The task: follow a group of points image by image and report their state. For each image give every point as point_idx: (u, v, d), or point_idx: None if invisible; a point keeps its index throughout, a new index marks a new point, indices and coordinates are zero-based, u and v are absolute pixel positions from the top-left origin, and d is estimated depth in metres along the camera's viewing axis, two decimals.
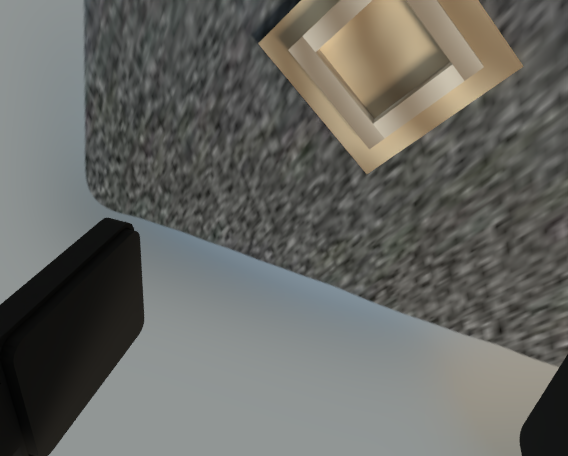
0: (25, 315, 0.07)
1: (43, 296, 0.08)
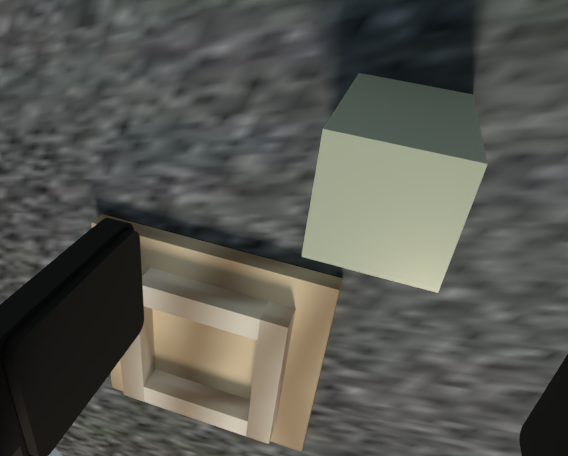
0: (25, 315, 0.07)
1: (43, 296, 0.08)
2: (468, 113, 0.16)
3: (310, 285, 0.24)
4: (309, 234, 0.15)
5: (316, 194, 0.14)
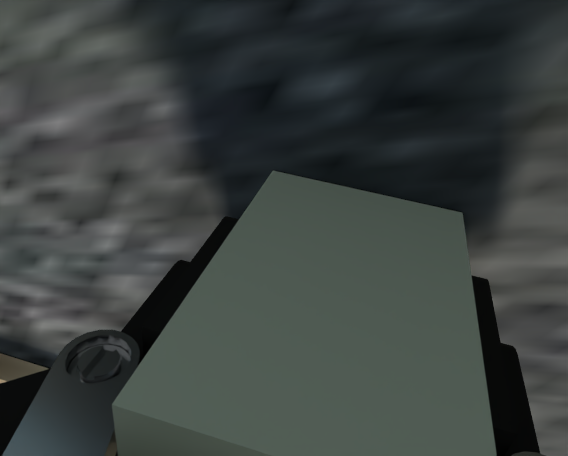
0: None
1: None
2: (455, 279, 0.08)
3: None
4: None
5: None
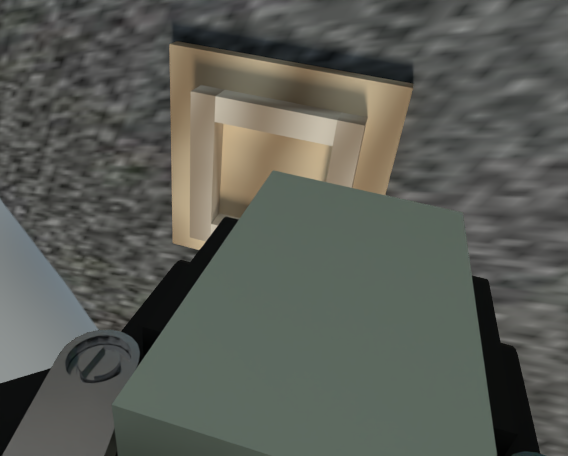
0: None
1: None
2: (455, 279, 0.08)
3: (384, 87, 0.25)
4: None
5: None
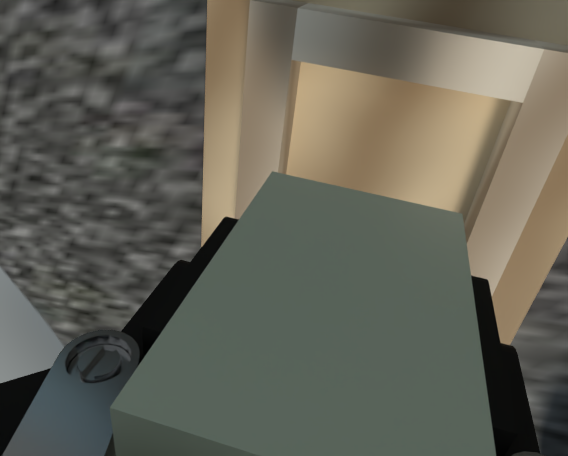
0: None
1: None
2: (455, 280, 0.08)
3: None
4: None
5: None
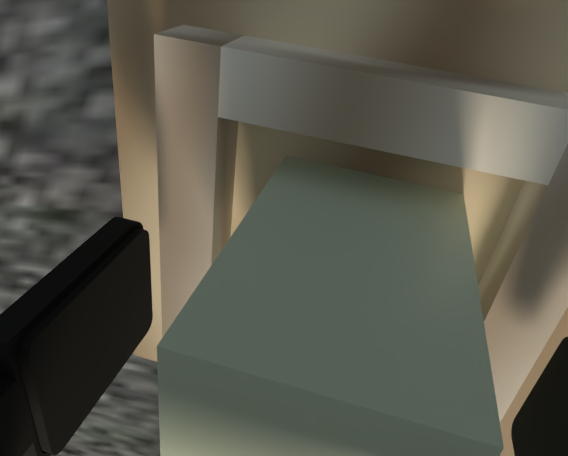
0: (39, 312, 0.07)
1: (56, 294, 0.08)
2: (457, 250, 0.09)
3: None
4: None
5: (168, 442, 0.07)
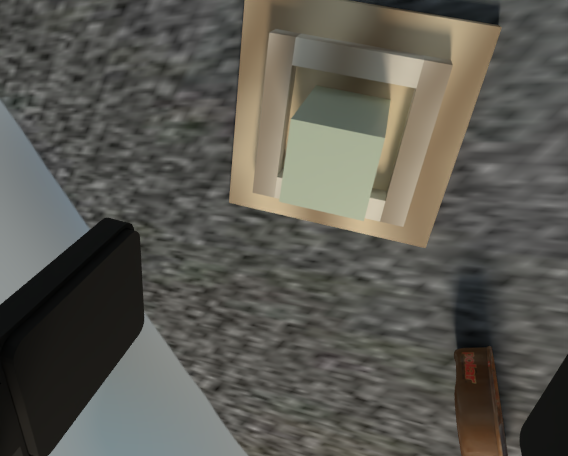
0: (25, 315, 0.07)
1: (43, 296, 0.08)
2: (383, 111, 0.25)
3: (472, 26, 0.25)
4: (283, 186, 0.24)
5: (287, 159, 0.23)
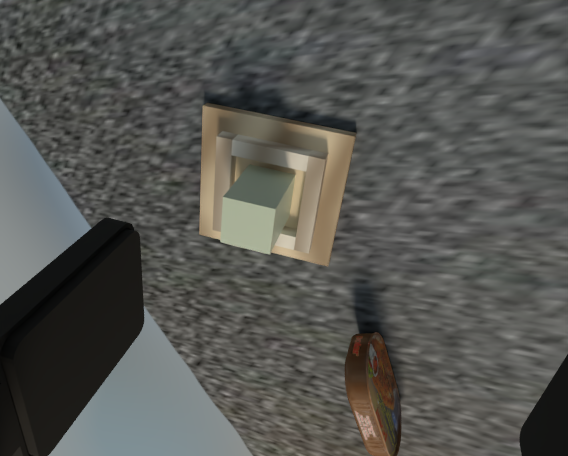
0: (25, 315, 0.07)
1: (43, 296, 0.08)
2: (285, 186, 0.41)
3: (338, 135, 0.41)
4: (222, 233, 0.40)
5: (223, 218, 0.39)
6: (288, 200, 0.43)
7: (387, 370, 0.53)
